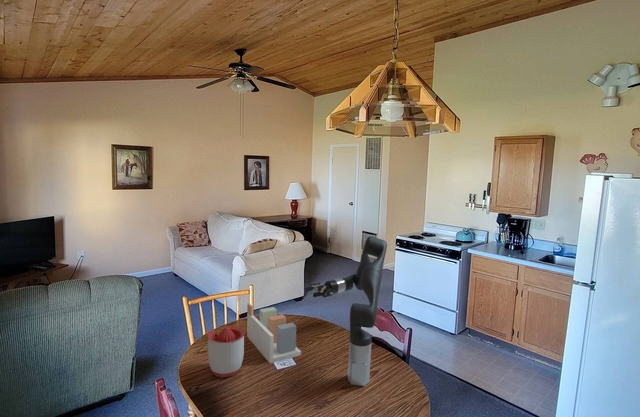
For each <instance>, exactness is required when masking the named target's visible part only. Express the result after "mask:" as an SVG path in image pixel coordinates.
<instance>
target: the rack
mask: <svg viewBox="0 0 640 417" xmlns="http://www.w3.org/2000/svg"><path fill="white" fill-rule="evenodd" d="M253 306H254V305H252V304H251V303H249V302H247V312H246V313H247V316H246V320H247V321H246V324H247V325H246V328H247V329H246V330H247V332H246V337H247V338H248V339H249V341H250V342H251V343H252V344H253V345H254V346H255V347H256V348H257V350H258V351H259V352H260V354H261V355H262V356H263V357H264V358H265V359H266V361H267V362H268V363H269V364H274V363H276V362H281V361H284V360H288V359H292V358H297V357H300V356H302V350H300V349H299V347H297V346H296V350H294V351H290V352H286V353H282V354H280V353H279V352H278V351H277V343H274V335H273V334H272V333H271V332H270V331H269V330H268V329H267V328H266V327H265V326H264V325H263V324H262V323H261V322H260V321H259V319H258V318H257V317H256V316H255V315H254V312H253V311H254V307H253Z"/></svg>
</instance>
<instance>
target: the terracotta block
mask: <svg viewBox="0 0 640 417" xmlns="http://www.w3.org/2000/svg"><path fill="white" fill-rule="evenodd" d="M283 324H287V317H286V316H285V315H284V314H277V316H271V317H268V330H269V331H270V332H271V333H272V334H273V335H274V343H277V326H278V325H283Z"/></svg>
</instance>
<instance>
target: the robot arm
mask: <svg viewBox="0 0 640 417" xmlns="http://www.w3.org/2000/svg"><path fill="white" fill-rule="evenodd" d="M387 248H388V243H387V241H386V240H384V239H381V238H378V237H375V236H371V235H370V236H368V237H367V238H366V240H365V242H364V246H363V249H362V251H361V256H360V262H359V264H358V267H357V270H356V271H355V272H354V273H352V274H350V275H348V276H346V277H342V278H341V277H340V278H335V279H331V280H326V281H325V283H324V284H323V283H322V284H321V282H316V283H310V284H309V285H310V286H305V287H304V292H307V293H308V292H311V291H314V292H313V293H312V296H313V298H318V297H321V298H322V297H323V298H327V297H331V296H333V295H336V294H340V293H343V292H346V291H350V290H352V289H353V288H354V286H355V288H356V289H357V290H358V291H363V293H364V294H365V295H366V297H367V300H368V302H369V304H364V303H358V302H357V303H355V302H354V303H352V304H351V306H350V310H349V345H348V360H347V362H348V364H347V365H348V366H347V367H348V368H347V381H348V382H349V383H350V385H351V386H358V387H359V386H361V387H366V386H367V384H369V382H370V376H371V375H370V374H371V373H370V372H371V371H370V370H371V358H372V356H371V355H372V340H373V339H372V335H371V333H370V332H368V331H367V330H365V329H363V328H367V329H372V328H374V327H375V325H376V322H377V314H378V313H377V312H378V301H379V292H380V290H381V289H380V288H381V283H382V278H383V277H382V275H383V268H384V262H385V258H386V253H387ZM369 255H370V256H371V257H375V258H376V259H374V260H373V261H371V259H370V257H369Z"/></svg>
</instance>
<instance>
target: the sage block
mask: <svg viewBox="0 0 640 417" xmlns="http://www.w3.org/2000/svg"><path fill="white" fill-rule="evenodd" d="M277 315H278V309H277V308H276V307H274V306H272V307H265V308H260V309H259V319H258V320H259V321H260V322H261V323H262V324H263V325H264V326H265V327H266V328H267V329H268V317H271V316H277Z"/></svg>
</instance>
